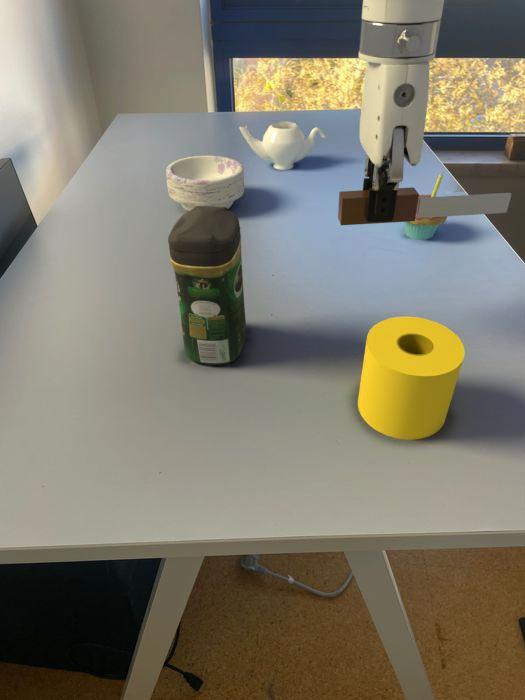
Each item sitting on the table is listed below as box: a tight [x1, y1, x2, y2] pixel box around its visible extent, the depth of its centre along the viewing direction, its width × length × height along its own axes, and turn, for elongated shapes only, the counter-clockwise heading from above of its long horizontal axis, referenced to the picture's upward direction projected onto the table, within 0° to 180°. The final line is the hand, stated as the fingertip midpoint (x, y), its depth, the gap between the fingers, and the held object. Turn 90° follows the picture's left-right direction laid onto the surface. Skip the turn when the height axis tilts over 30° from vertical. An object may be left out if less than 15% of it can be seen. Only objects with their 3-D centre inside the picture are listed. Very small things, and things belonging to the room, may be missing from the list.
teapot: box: [239, 121, 328, 171], centre depth 119 cm, size 10×20×9 cm, turn 92°
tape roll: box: [357, 316, 466, 441], centre depth 57 cm, size 10×10×9 cm
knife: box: [337, 186, 512, 226], centre depth 62 cm, size 20×2×3 cm, turn 93°
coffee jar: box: [167, 206, 247, 366], centre depth 64 cm, size 10×8×19 cm
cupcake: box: [403, 170, 448, 241], centre depth 90 cm, size 9×8×12 cm
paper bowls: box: [165, 155, 245, 212], centre depth 103 cm, size 15×15×8 cm
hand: (376, 214), depth 62 cm, fingers closed on knife, 2 cm apart
